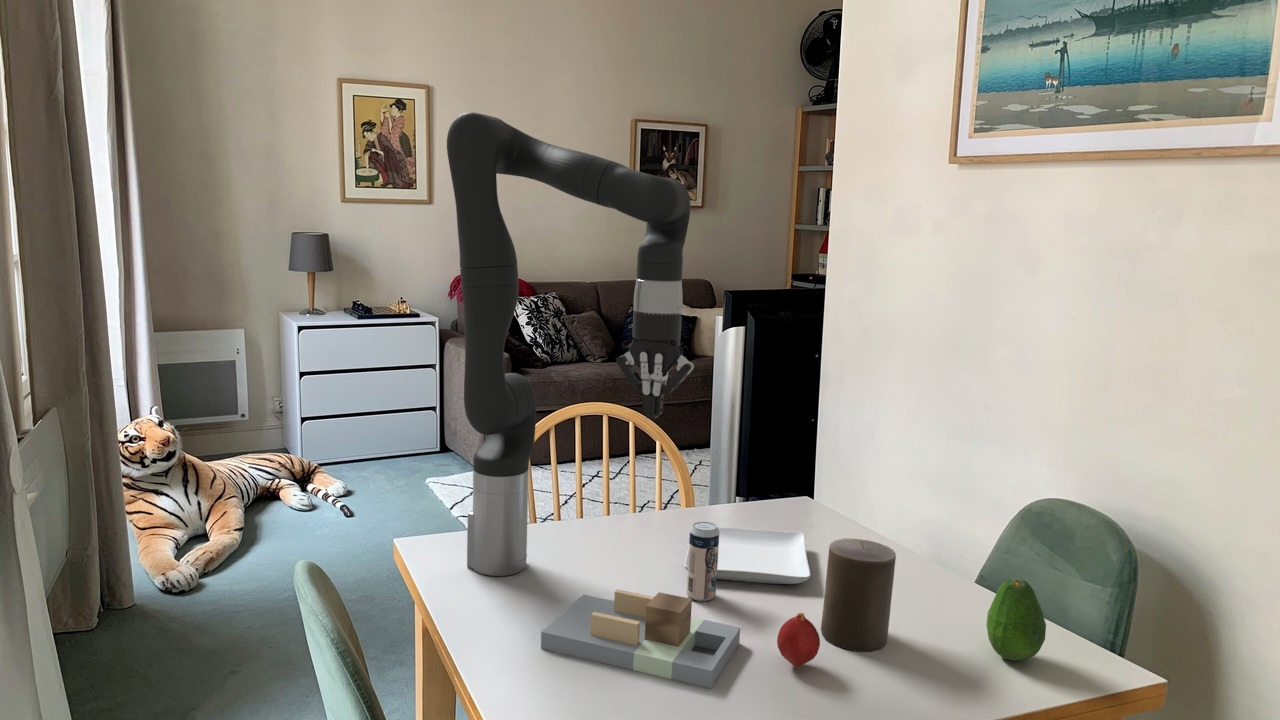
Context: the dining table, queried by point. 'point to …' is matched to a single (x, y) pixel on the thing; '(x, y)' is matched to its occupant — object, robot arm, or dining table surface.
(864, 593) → the pillar candle
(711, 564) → the beer can
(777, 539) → the salad plate
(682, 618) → the block
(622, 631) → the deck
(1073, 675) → the dining table surface
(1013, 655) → the avocado
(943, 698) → the dining table surface
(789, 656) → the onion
